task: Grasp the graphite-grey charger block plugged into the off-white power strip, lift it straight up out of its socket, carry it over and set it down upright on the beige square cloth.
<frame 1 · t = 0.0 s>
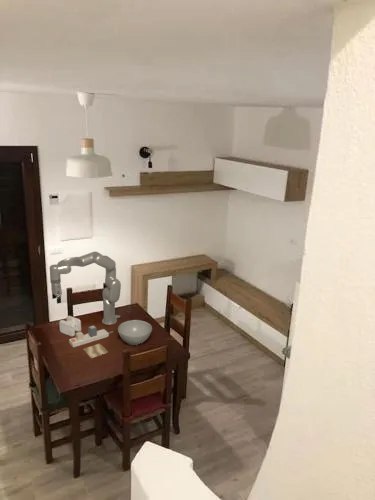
hand: (56, 300, 318), 31 cm above the table, fingers open, 9 cm apart
power strip: (89, 339, 325), on the table
decorative bowl: (134, 341, 326), on the table
charger: (92, 335, 326), point 3 cm above the table, touching power strip
beige square cloth: (95, 351, 310), on the table
cable organizer: (70, 332, 334), on the table
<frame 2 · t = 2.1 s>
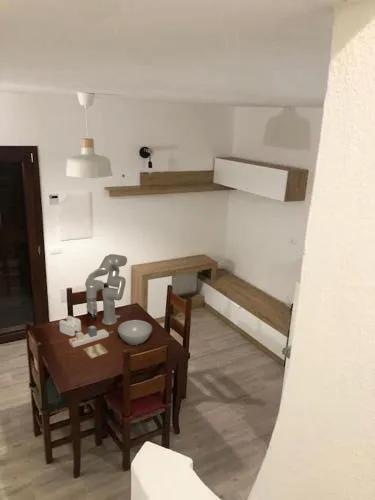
hand: (91, 318, 320), 18 cm above the table, fingers open, 9 cm apart
nothing on the table moved.
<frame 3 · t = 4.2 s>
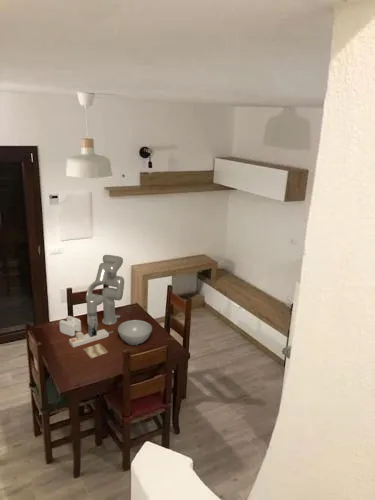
hand: (92, 333, 325), 5 cm above the table, fingers closed on charger, 5 cm apart
charger: (92, 335, 326), point 3 cm above the table, touching gripper, power strip
everything else where it was.
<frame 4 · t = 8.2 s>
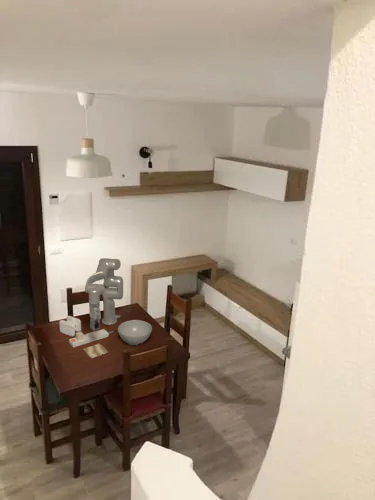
hand: (94, 326, 303), 21 cm above the table, fingers closed on charger, 5 cm apart
charger: (94, 328, 303), point 20 cm above the table, touching gripper
everything else where it was.
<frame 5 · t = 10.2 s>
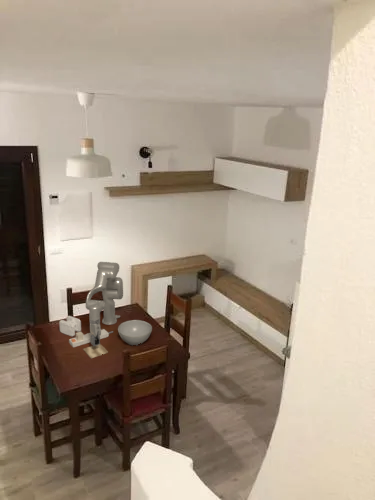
hand: (95, 342, 307), 8 cm above the table, fingers closed on charger, 5 cm apart
charger: (95, 343, 307), point 7 cm above the table, touching gripper
everything else where it was.
when the fingers open (3 cm above the table, at t = 12.1 s): charger stays where it is, resting on beige square cloth.
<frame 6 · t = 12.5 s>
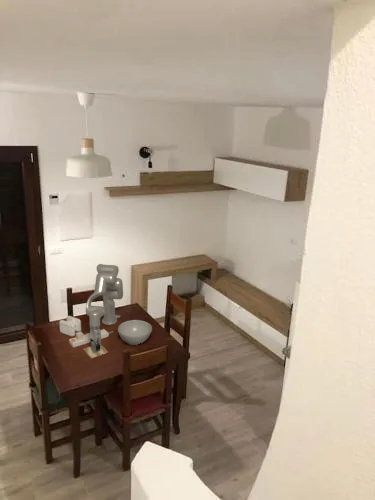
hand: (95, 346, 308), 4 cm above the table, fingers open, 8 cm apart
charger: (95, 350, 310), point 1 cm above the table, touching beige square cloth
everything else where it was.
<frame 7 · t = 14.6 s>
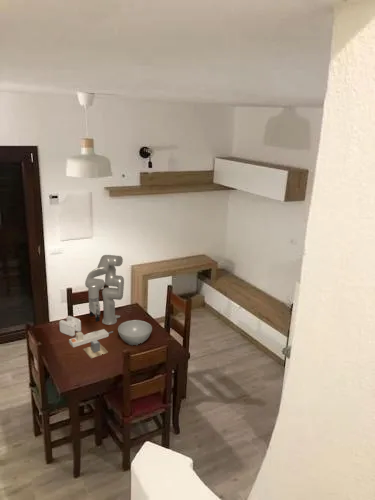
hand: (94, 318, 311), 23 cm above the table, fingers open, 9 cm apart
nothing on the table moved.
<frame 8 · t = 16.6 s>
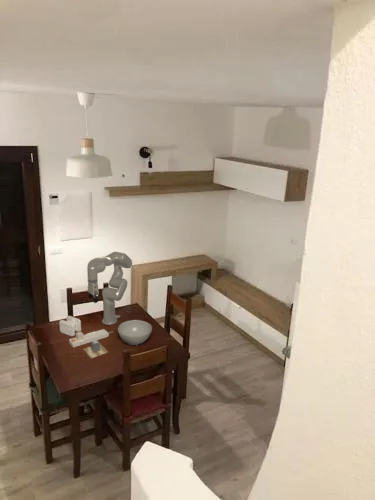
hand: (93, 300, 324), 30 cm above the table, fingers open, 9 cm apart
nothing on the table moved.
at the end: charger inside the target area on the beige square cloth (0.1 cm from its centre), point 0.8 cm above the beige square cloth's base; charger tilted 0°; the gripper is holding nothing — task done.
